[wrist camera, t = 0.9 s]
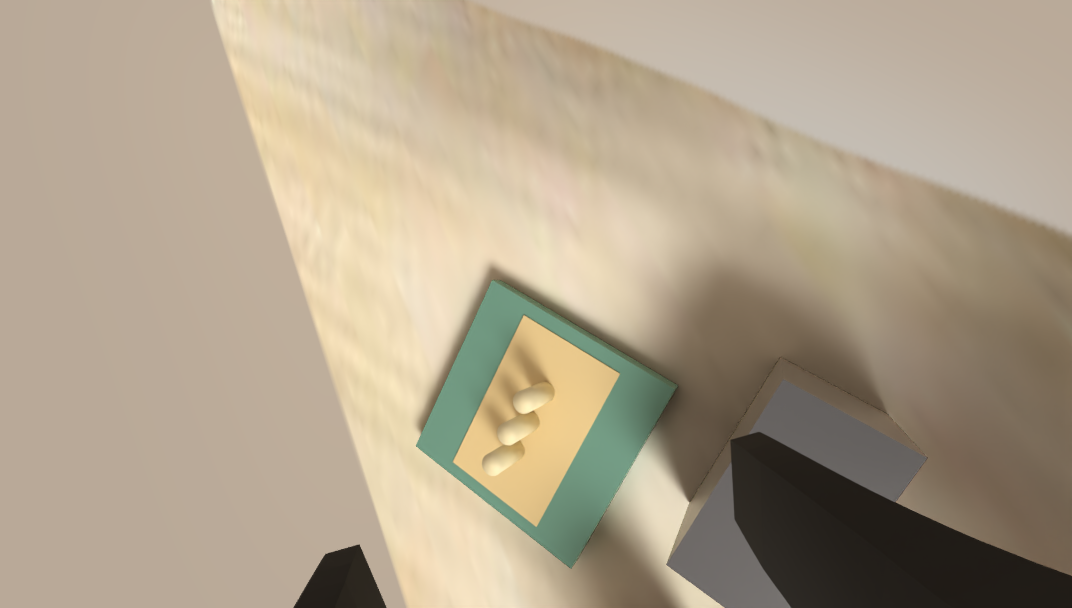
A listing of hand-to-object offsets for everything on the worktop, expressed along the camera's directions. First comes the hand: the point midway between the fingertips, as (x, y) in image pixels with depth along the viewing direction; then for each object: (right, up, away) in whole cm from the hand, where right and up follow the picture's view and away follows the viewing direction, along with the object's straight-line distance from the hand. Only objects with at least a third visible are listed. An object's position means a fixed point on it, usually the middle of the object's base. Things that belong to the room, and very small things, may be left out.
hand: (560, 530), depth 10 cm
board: (0, -1, +13) cm, 13 cm away
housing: (+9, -2, +9) cm, 13 cm away
